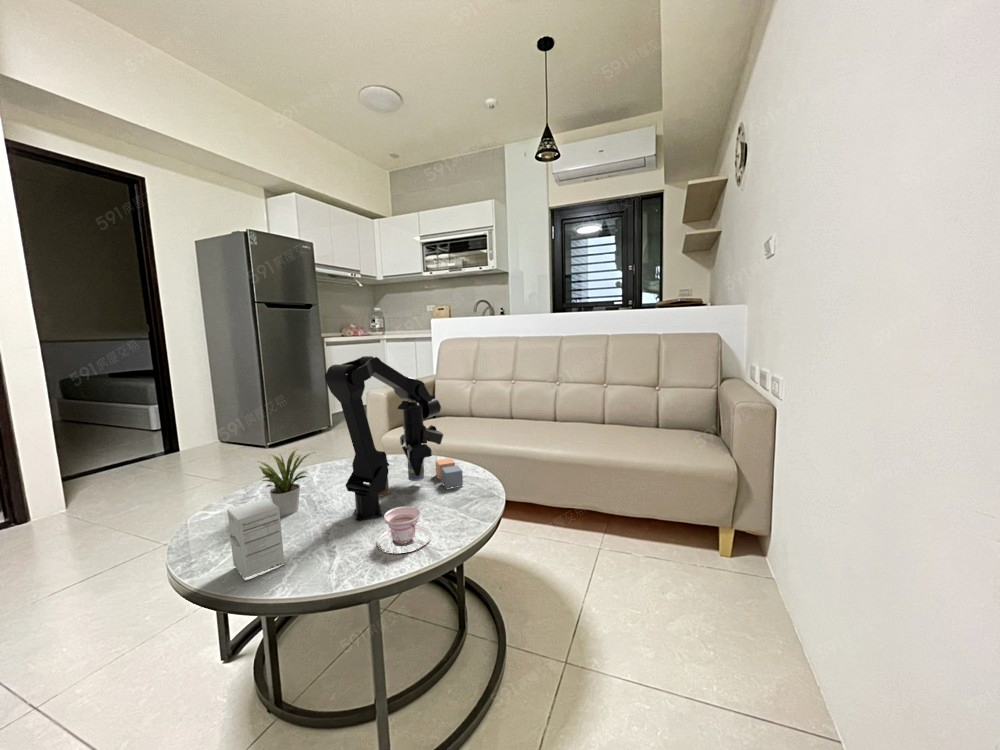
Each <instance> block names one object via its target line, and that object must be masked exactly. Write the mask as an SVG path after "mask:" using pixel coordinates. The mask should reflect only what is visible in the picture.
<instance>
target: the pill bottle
mask: <svg viewBox="0 0 1000 750" xmlns="http://www.w3.org/2000/svg"><path fill="white" fill-rule="evenodd" d="M424 460H425V458H424V459H423V463H422V467H421V472H420V475H419V476H416V475H415V473H414V470H413V468H412V466H411V464H410V462H409V459H407V477H408V480H409V481H410V482H419V481H422V480H425V465H424V464H425V462H424Z"/></svg>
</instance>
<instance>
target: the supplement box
mask: <svg viewBox="0 0 1000 750" xmlns="http://www.w3.org/2000/svg"><path fill="white" fill-rule="evenodd" d="M227 516H228V517H227V518H228V526H229V527H228V528H229V535H230V545H231V554H232V561H233V562H232V563H233V567H234V566H235V567H236V569H237V570H238V571H239V572H240V573H241V575H242V576H243V577H244V578H246V577H249V576H252V575H254V574H257V573H260V572H262V571H266V570H268V569H271V568H274V567H276V566H279V565H282V564H284V563H285V555H284V544H283V543H284V542H283V534H282V523H281V521H282V520H281V516H280V512H279V507H278V506H277V505H275V504H274V503H273V501H272V500H270V499H269V498H267V497H264V498H261V499H257V500H253V501H250V502H247V503H243V504H241V505H238V506H234V507H230V508H228V509H227ZM236 569H235V570H236ZM237 570H236V571H237ZM238 571H237V572H238ZM239 572H238V573H239ZM241 575H240V576H241Z"/></svg>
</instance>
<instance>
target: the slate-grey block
mask: <svg viewBox="0 0 1000 750" xmlns="http://www.w3.org/2000/svg"><path fill="white" fill-rule="evenodd" d="M463 479H464V477H463V470H462V468H461V467H460V466H458V464H457V465H455V466H451V467H444V468H442V480H441V481H442V483H443V484H444V485H443V484H442V485H443V487H444V488H445V487H446V488H445V489H446V490H448V489H447V488H451V487H457V486H462V485H463V486H464V483H463V482H464V481H463ZM463 486H462V487H463ZM457 488H458V487H457ZM451 489H452V488H451Z"/></svg>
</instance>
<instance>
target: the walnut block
mask: <svg viewBox="0 0 1000 750" xmlns="http://www.w3.org/2000/svg"><path fill="white" fill-rule="evenodd" d="M368 484H370V485H371V483H368ZM389 488H390V487H389V477H387V482H386V488H385V490H384V491H382V492H380V493H378V494H379V497H381V496H388V495H390V490H389Z"/></svg>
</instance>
